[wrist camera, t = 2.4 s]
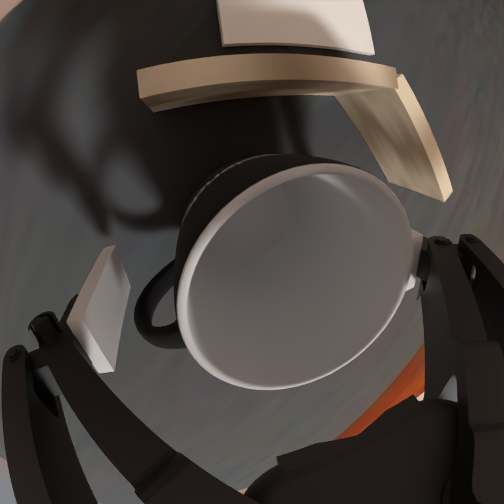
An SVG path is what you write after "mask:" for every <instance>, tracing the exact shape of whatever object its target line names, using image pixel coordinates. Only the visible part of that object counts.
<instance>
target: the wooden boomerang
mask: <svg viewBox="0 0 504 504" xmlns="http://www.w3.org/2000/svg"><path fill="white" fill-rule="evenodd" d="M137 79H138V88H139V96H140V99H141V100H142V101H143V102H144V103H145V104H146V105H147V106H148V107H149V108H150V109H151V110H152V111H153V112H158V111H163V110H168V109H172V108H177V107H183V106H188V105H194V104H200V103H206V102H213V101H221V100H229V99H238V98H248V97H261V96H279V95H334V96H335V97H336V99H337V100H338V101H339V103H340V104H341V106H342V107H343V108H344V110H345V111H346V113H347V114H348V116H349V117H350V119H351V120H352V122H353V123H354V125H355V126H356V128H357V129H358V131H359V132H360V134H361V135H362V137H363V139H364V140H365V142H366V143H367V145H368V147H369V148H370V150H371V152H372V153H373V155H374V157H375V159H376V160H377V162H378V164H379V166H380V167H381V169H382V171H383V173H384V175H385V176H386V178H387V180H388V182H391V183H394V184H397V185H399V186H402V187H405V188H408V189H411V190H414V191H417V192H419V193H422V194H425V195H427V196H430V197H432V198H435V199H438V200H440V201H443V202H445V201H446V200H447V198H448V197H449V196H450V194H451V193H452V191H453V190H452V186H451V183H450V180H449V177H448V174H447V171H446V168H445V165H444V162H443V159H442V156H441V154H440V151H439V148H438V146H437V143H436V141H435V138H434V136H433V134H432V131H431V129H430V127H429V124H428V122H427V120H426V118H425V116H424V113H423V111H422V109H421V107H420V105H419V103H418V101H417V99H416V97H415V95H414V93H413V92H412V90H411V88H410V86H409V84H408V82H407V81H406V79H405V77H404V75H403V74H396V68H394V67H389V66H385V65H380V64H375V63H370V62H365V61H359V60H352V59H346V58H338V57H329V56H319V55H305V54H279V53H264V54H238V55H224V56H214V57H205V58H197V59H190V60H184V61H178V62H172V63H167V64H162V65H157V66H152V67H148V68H144V69H140V70H137Z"/></svg>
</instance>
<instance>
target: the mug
mask: <svg viewBox="0 0 504 504" xmlns="http://www.w3.org/2000/svg"><path fill="white" fill-rule="evenodd" d="M412 261H413V240H412V233H411V228H410V224H409V220H408V217H407V215H406V212H405V210H404V208H403V206H402V204H401V202H400V201H399V199H398V198H397V196H396V195H395V194H394V193H393V191H392V190H391V189H390V188H389V187H388V186H387V185H386V184H384V183H383V182H382V181H381V180H379V179H378V178H376V177H375V176H373V175H372V174H370V173H368V172H366V171H364V170H362V169H360V168H358V167H355V166H352V165H349V164H346V163H342V162H339V161H335V160H331V159H325V158H319V157H313V156H305V155H291V154H268V155H257V156H251V157H246V158H242V159H238V160H235V161H232V162H230V163H228V164H225V165H223V166H222V167H220V168H218V169H217V170H215V171H214V172H212V173H211V174H210V175H209V176H208V177H207V178H206V179H205V180H204V181H203V182H202V183H201V184H200V185H199V187H198V188H197V189H196V191H195V192H194V194H193V196H192V197H191V199H190V201H189V204H188V206H187V208H186V211H185V213H184V216H183V219H182V223H181V227H180V232H179V236H178V241H177V248H176V256H175V259H174V260H173V261H172V262H170V263H169V264H168V265H167V266H165V267H164V268H163V269H162V270H161V271H160V272H159V273H157V274H156V275H155V276H154V277H153V279H152V280H151V281H150V282H149V283H148V284H147V286H146V287H145V288H144V290H143V291H142V293H141V294H140V296H139V298H138V300H137V303H136V306H135V311H134V321H135V325H136V327H137V330H138V331H139V333H140V334H141V336H142V337H143V338H144V339H145V340H146V341H148V342H149V343H151V344H152V345H154V346H157V347H160V348H166V349H180V348H187V349H188V350H189V352H190V353H191V355H192V356H193V358H194V359H195V360H196V361H197V362H198V363H199V364H200V365H201V366H202V367H203V368H204V369H205V370H206V371H208V372H209V373H211V374H212V375H214V376H215V377H217V378H219V379H221V380H223V381H225V382H228V383H230V384H233V385H236V386H240V387H244V388H249V389H258V390H276V389H285V388H291V387H296V386H300V385H303V384H307V383H310V382H313V381H315V380H318V379H320V378H322V377H325V376H327V375H329V374H331V373H333V372H334V371H336V370H338V369H340V368H341V367H343V366H344V365H346V364H347V363H349V362H350V361H352V360H353V359H354V358H356V357H357V356H358V355H359V354H361V353H362V352H363V351H364V350H365V349H366V348H367V347H368V346H369V345H370V344H371V343H372V342H373V341H374V340H375V339H376V338H377V337H378V336H379V335H380V333H381V332H382V331H383V330H384V328H385V327H386V326H387V324H388V323H389V322H390V320H391V318H392V317H393V315H394V314H395V312H396V310H397V308H398V306H399V305H400V302H401V300H402V298H403V296H404V293H405V291H406V288H407V285H408V281H409V278H410V273H411V268H412ZM173 285H174V303H175V312H176V318H177V319H176V321H175V322H173V323H172V324H170V325H167V326H162V327H154V326H152V317H153V314H154V311H155V309H156V307H157V305H158V303H159V302H160V300H161V299H162V297H163V296H164V295H165V294H166V292H167V291H168V290H169V289H170V288H171V287H172V286H173Z"/></svg>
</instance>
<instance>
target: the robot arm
mask: <svg viewBox="0 0 504 504" xmlns="http://www.w3.org/2000/svg"><path fill="white" fill-rule="evenodd" d="M411 233H412V240H413V261H412V268H411V273H410V278H409V281H408V285H407V288H406V291H407V290H409V289H411V288H413V287H414V285H415V280H416V276H417V277H419V278H420V279H421V283H420V287H419V291H418V295H417V300H419V297H420V296H421V302H422V313H423V325H424V343H425V392H424V399H423V400H422V401H418V400H417V399H416V397H415V396H414V395H411V396H410V397H408V398H407V399H405V400H403V401H402V402H400V403H398V404H397V405H395V406H393V407H391V408H390V409H388V410H386V411H385V412H384V413H383V414H382V415H381V416H380V417H378V418H377V419H376V420H375V421H374V422H373V423H372V424H371V425H369V426H368V427H367V428H366V429H365V430H364V431H362V432H361V433H360V434H358V435H356V436H353V437H348V438H343V439H338V440H333V441H328V442H322V443H315V444H313V445H310V446H307V447H305V448H302V449H299V450H296V451H293V452H290V453H287V454H284V455H281V456H277V463H278V465H276V466H275V467H273V468H271V469H269V470H268V471H266V472H265V473H264V474H262V475H261V476H260V477H259V478H258V479H256V480H255V481H254V482H253V483H252V484H251V486H250V487H249V488H248V489H247V491H246V492H245V493H244V495H243V494H241V493H240V492H238V491H236V490H235V489H233V488H231V487H230V486H228V485H226V484H225V483H223V482H222V481H220V480H218V479H217V478H215V477H214V476H212V475H211V474H209V473H208V472H206V471H205V470H203V469H202V468H201V467H199V466H198V465H196V464H195V463H194V462H192V461H191V460H189V459H188V458H187V457H185V456H184V455H182V454H181V453H179V452H177V451H175V450H174V449H172V448H171V447H170V446H169V445H168V444H166V443H165V442H164V441H163V440H162V439H160V438H159V437H158V436H157V435H156V434H155V433H154V432H152V431H151V430H150V429H149V428H148V427H147V426H146V425H145V424H144V423H143V422H142V421H140V420H139V419H138V418H137V417H136V416H135V415H134V414H133V413H132V412H131V411H130V410H129V409H128V408H127V407H126V406H125V405H124V404H123V403H122V402H121V401H120V399H119V398H118V397H117V396H116V395H115V394H114V393H113V392H112V391H111V390H110V389H109V388H108V386H107V385H106V384H105V383H104V382H103V381H102V380H101V378H100V377H99V376H98V375H97V374H96V372H95V371H94V370H93V369H92V368H91V367H92V364H93V366H94V367H95V369H96V370H97V371H98V373H105V372H114V371H115V364H116V358H117V351H118V346H119V340H120V335H121V329H122V324H123V319H124V314H125V310H126V305H127V301H128V296H129V292H130V288H131V286H130V284H129V281H128V278H127V276H126V273H125V270H124V267H123V264H122V262H121V259H120V256H119V253H118V250H117V247H116V245H113V246H109V247H105V248H104V249H103V250H102V252H101V254H100V256H99V257H98V259H97V261H96V263H95V265H94V266H93V268H92V270H91V272H90V274H89V276H88V278H87V280H86V282H85V284H84V285H83V287H82V289H81V291H80V293H79V294H77V295H75V296H74V297H73V298H72V299H71V300H70V302H69V304H68V306H67V308H66V310H65V312H64V315H63V316H62V318H61V320H60V322H59V321H58V319H57V317H56V316H55V314H54V313H53V312H52V311H47V312H44V313H41V314H39V315H38V316H36V317H35V318H34V319H33V320H32V321H31V322H30V324H29V326H28V331H29V333H30V334H31V336H32V337H33V339H34V341H35V342H36V344H37V345H38V347H39V349H37V350H34V351H32V352H29V353H28V351H27V350H26V348H25V347H24V346H23V345H16V346H14V347H12V348H10V349H9V350H8V351H7V353H6V355H5V356H4V359H3V370H2V420H3V433H4V443H5V450H6V457H7V463H8V469H9V474H10V478H11V483H12V487H13V491H14V494H15V498H16V501H17V504H98V503H97V501H96V499H95V497H94V495H93V493H92V490H91V488H90V486H89V484H88V482H87V479H86V477H85V475H84V472H83V470H82V468H81V465H80V463H79V460H78V457H77V455H76V452H75V449H74V446H73V443H72V440H71V437H70V434H69V431H68V428H67V424H66V421H65V417H64V413H63V410H62V406H61V401H60V397H59V395H60V394H62V393H63V395H64V397H65V398H66V400H67V402H68V403H69V405H70V406H71V408H72V410H73V411H74V413H75V414H76V416H77V417H78V419H79V420H80V422H81V423H82V425H83V426H84V428H85V429H86V430H87V432H88V433H89V435H90V436H91V437H92V439H93V440H94V441H95V443H96V444H97V445H98V446H99V448H100V449H101V450H102V452H103V453H104V454H105V455H106V456H107V458H108V459H109V460H110V461H111V462H112V464H113V465H114V466H115V467H116V468H117V469H118V470H119V472H120V473H121V474H122V475H123V476H124V477H125V478H126V479H127V480H128V481H129V482H130V483H131V485H132V486H133V487H134V488H135V493H136V495H137V496H138V497H139V498H140V499H141V500H142V502H143V503H144V504H504V264H503V263H502V261H501V260H500V259H499V258H498V257H497V256H496V255H495V254H494V253H493V252H492V251H491V250H490V249H489V248H488V247H487V246H486V245H485V244H484V243H483V242H482V241H481V240H480V239H478V238H477V237H475V236H474V235H472V234H462V235H460V239H459V244H453V243H452V242H451V241H450V240H449V239H447V238H444V237H441V236H432V237H430V238H429V239H428V238H426V237H424V236H423V235H422V234H420V233H418V232H416V231H414V230H413V229H411ZM475 269H476V276H475V279H473V278H472V277H473V273H474V270H475Z"/></svg>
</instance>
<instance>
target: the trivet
mask: <svg viewBox="0 0 504 504" xmlns="http://www.w3.org/2000/svg"><path fill="white" fill-rule="evenodd" d="M216 4H217V11H218V19H219V26H220V34H221V41H222V47H230V46H251V45H281V46H302V47H315V48H325V49H333V50H340V51H347V52H353V53H359V54H364V55H369V56H370V55H374V54H375V53H374V48H373V42H372V37H371V33H370V28H369V24H368V19H367V15H366V11H365V7H364V4H363V0H216Z"/></svg>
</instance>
